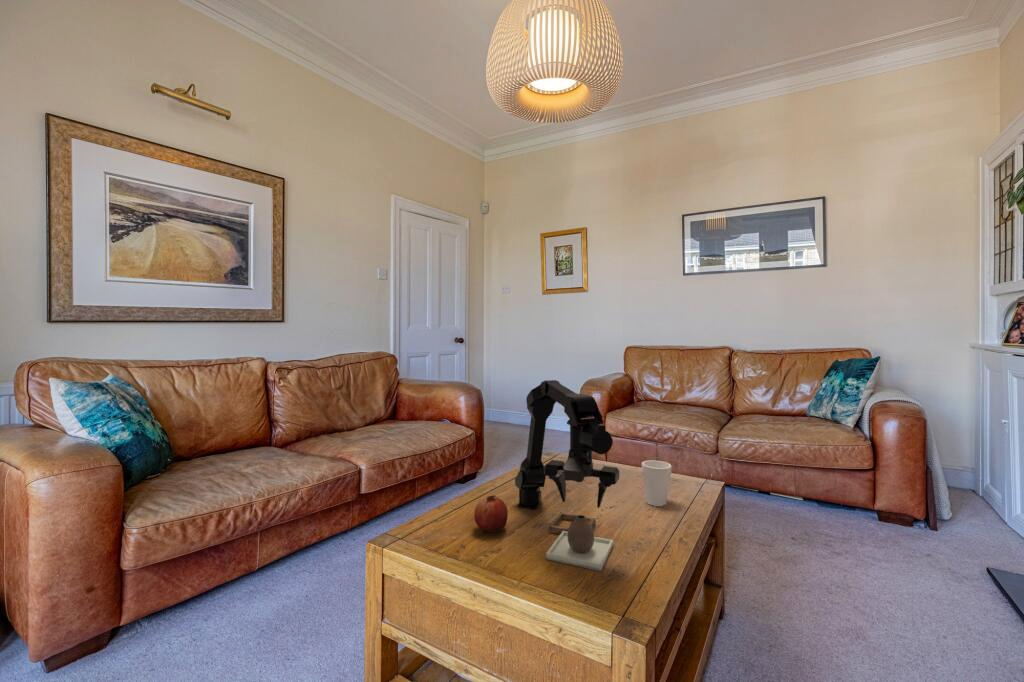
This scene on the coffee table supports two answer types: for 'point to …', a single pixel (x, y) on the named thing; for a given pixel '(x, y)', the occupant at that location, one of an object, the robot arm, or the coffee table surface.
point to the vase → (580, 535)
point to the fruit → (491, 514)
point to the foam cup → (656, 481)
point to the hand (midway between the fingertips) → (581, 504)
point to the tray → (587, 560)
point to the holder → (570, 517)
